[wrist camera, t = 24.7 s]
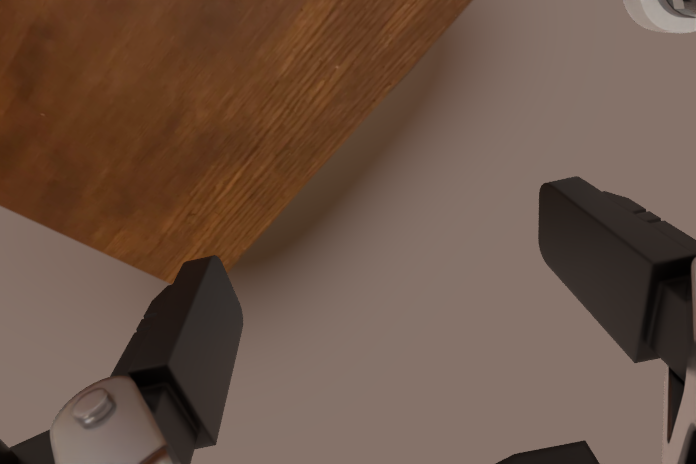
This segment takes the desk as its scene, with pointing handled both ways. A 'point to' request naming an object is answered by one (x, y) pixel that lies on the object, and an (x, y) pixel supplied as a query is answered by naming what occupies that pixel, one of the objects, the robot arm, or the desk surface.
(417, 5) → the desk surface
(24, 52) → the desk surface
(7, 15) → the desk surface
